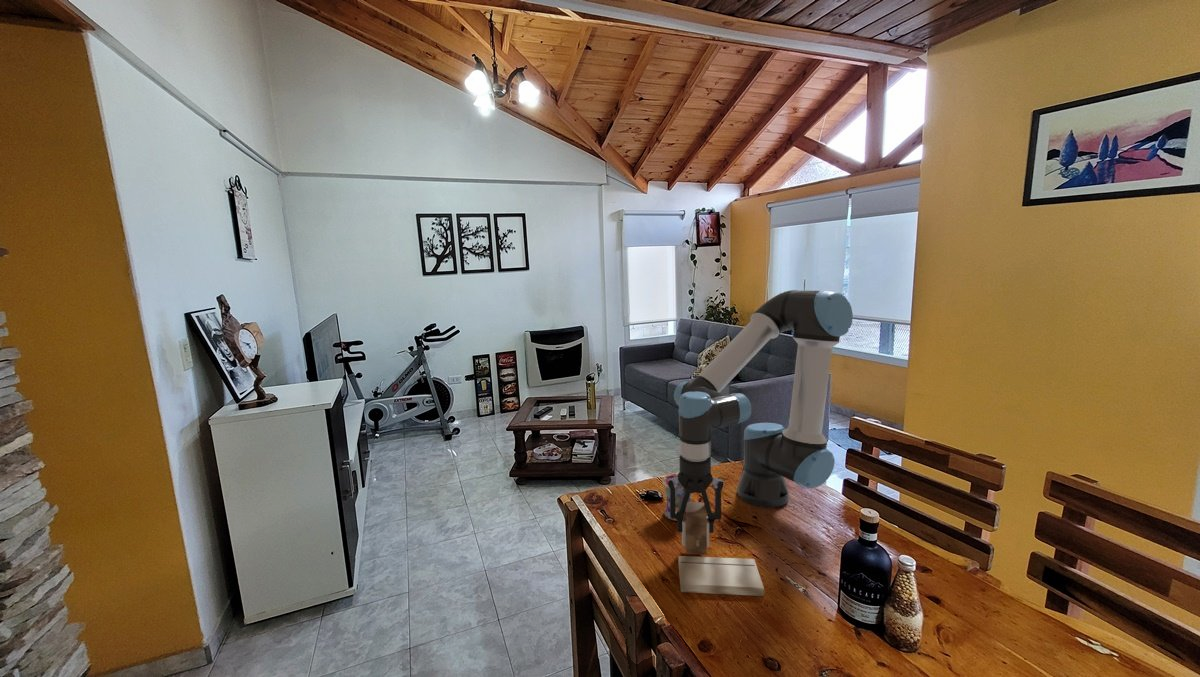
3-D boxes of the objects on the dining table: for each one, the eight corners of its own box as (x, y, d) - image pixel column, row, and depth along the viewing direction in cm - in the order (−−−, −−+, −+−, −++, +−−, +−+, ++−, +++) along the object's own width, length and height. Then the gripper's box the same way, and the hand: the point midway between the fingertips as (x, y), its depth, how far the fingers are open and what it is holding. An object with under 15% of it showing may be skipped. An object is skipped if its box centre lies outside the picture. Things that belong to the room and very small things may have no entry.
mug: (682, 528, 126) (682, 492, 124) (656, 516, 132) (655, 482, 131) (705, 511, 134) (705, 477, 132) (679, 500, 141) (679, 468, 139)
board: (753, 566, 109) (754, 558, 108) (763, 596, 99) (764, 587, 98) (678, 563, 111) (678, 555, 110) (680, 591, 101) (680, 583, 101)
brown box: (704, 542, 115) (704, 502, 114) (708, 564, 107) (708, 521, 105) (684, 541, 116) (684, 501, 114) (687, 564, 107) (687, 521, 106)
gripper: (730, 449, 112) (729, 535, 116) (657, 449, 114) (658, 533, 118) (735, 462, 105) (734, 554, 108) (657, 461, 107) (659, 551, 110)
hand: (695, 543), depth 113 cm, fingers closed on brown box, 5 cm apart
